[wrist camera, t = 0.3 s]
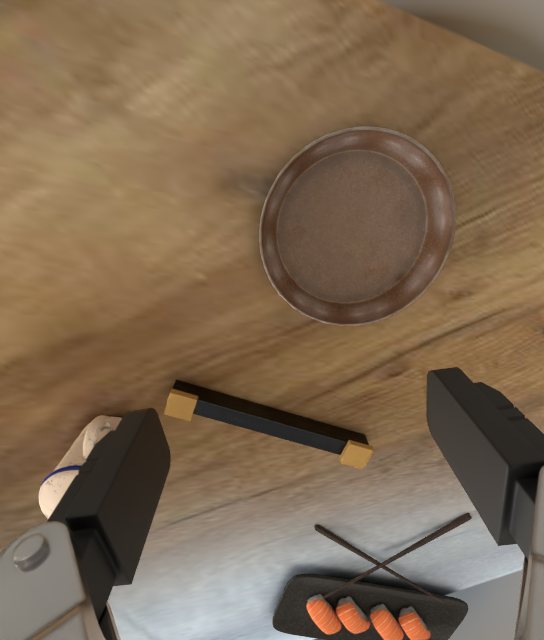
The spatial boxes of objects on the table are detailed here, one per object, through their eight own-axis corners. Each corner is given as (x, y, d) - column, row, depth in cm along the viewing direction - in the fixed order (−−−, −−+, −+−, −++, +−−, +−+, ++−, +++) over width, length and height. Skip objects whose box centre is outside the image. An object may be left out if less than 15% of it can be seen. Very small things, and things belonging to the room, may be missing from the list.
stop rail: (177, 376, 41) (169, 392, 38) (367, 431, 45) (374, 450, 42) (171, 396, 42) (163, 414, 39) (356, 449, 46) (363, 469, 43)
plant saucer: (453, 287, 37) (468, 296, 35) (290, 335, 39) (291, 348, 37) (426, 99, 31) (442, 92, 28) (233, 169, 33) (230, 169, 30)
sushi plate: (267, 617, 59) (267, 646, 55) (322, 484, 48) (327, 509, 44) (431, 642, 62) (441, 670, 58) (519, 522, 51) (538, 548, 47)
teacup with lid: (153, 474, 47) (119, 564, 36) (82, 467, 46) (25, 556, 36) (155, 397, 42) (116, 474, 32) (76, 388, 42) (9, 463, 31)
